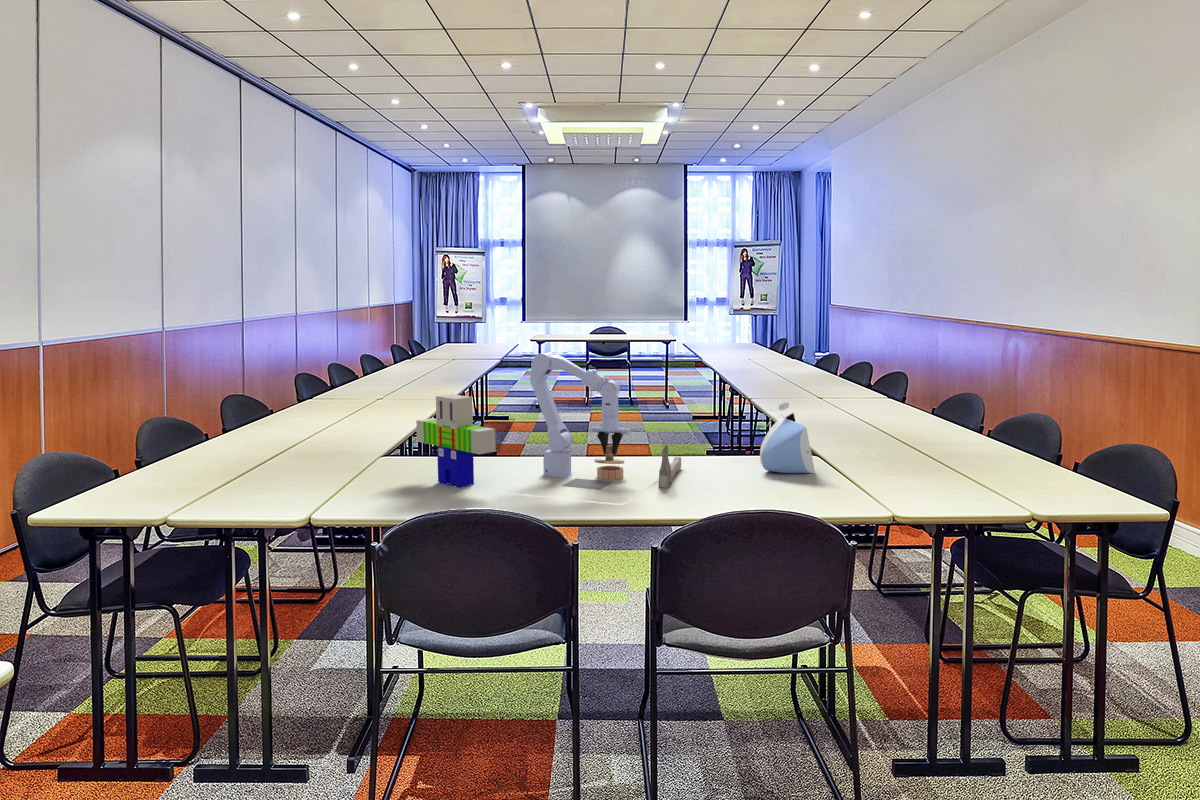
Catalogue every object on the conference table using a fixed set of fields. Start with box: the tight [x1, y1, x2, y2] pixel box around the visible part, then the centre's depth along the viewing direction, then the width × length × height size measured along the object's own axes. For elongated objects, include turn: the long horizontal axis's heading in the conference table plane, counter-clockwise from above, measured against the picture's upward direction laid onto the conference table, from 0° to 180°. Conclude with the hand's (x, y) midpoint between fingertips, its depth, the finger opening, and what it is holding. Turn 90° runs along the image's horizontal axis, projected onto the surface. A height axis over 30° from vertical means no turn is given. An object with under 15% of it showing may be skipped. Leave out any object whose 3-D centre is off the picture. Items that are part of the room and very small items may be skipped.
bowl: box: [596, 465, 624, 481], centre depth 315 cm, size 9×9×4 cm
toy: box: [415, 393, 496, 488], centre depth 306 cm, size 34×7×30 cm, turn 47°
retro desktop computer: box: [759, 400, 816, 474], centre depth 326 cm, size 25×23×17 cm
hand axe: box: [658, 444, 682, 489], centre depth 315 cm, size 35×3×14 cm, turn 166°
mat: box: [561, 478, 614, 490], centre depth 305 cm, size 14×12×1 cm
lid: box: [594, 444, 625, 465], centre depth 314 cm, size 10×10×6 cm
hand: (610, 453), depth 314 cm, fingers closed on lid, 3 cm apart
